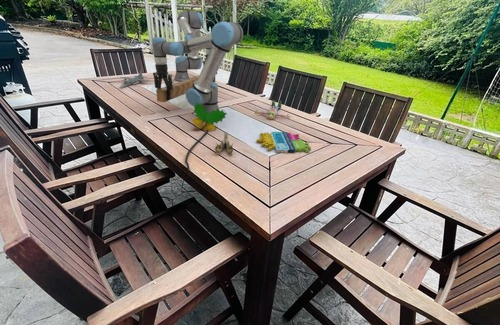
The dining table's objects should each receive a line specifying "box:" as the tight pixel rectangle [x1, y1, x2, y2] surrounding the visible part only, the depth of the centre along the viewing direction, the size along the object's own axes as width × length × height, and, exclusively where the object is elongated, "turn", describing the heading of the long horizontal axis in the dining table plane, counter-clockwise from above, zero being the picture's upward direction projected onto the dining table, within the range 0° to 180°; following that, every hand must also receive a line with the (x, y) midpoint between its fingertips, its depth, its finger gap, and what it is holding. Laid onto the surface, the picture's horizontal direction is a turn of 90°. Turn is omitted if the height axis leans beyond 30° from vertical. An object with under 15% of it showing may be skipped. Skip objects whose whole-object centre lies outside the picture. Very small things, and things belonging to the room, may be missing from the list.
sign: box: [256, 131, 312, 154], centre depth 152 cm, size 26×2×30 cm
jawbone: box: [214, 131, 234, 156], centre depth 136 cm, size 9×15×10 cm
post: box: [155, 75, 216, 103], centre depth 207 cm, size 77×5×8 cm, turn 160°
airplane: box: [119, 68, 152, 89], centre depth 248 cm, size 38×31×10 cm
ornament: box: [191, 102, 228, 132], centre depth 162 cm, size 21×8×15 cm, turn 105°
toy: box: [253, 99, 292, 120], centre depth 196 cm, size 28×7×30 cm
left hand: (210, 81), depth 236 cm, fingers closed on post, 5 cm apart
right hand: (165, 99), depth 180 cm, fingers closed on post, 5 cm apart
